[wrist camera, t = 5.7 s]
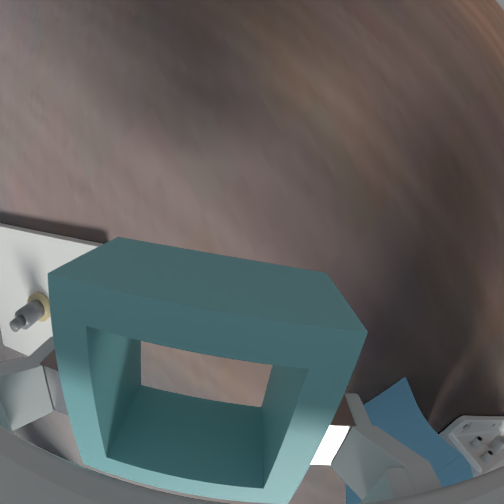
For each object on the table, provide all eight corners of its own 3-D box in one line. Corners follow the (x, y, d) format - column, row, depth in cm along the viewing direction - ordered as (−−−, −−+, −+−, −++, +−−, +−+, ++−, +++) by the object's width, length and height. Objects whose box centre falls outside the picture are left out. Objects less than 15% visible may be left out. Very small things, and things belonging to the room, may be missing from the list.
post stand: (108, 244, 21) (75, 263, 16) (108, 376, 24) (87, 412, 19) (-2, 222, 20) (-41, 233, 15) (8, 340, 23) (-20, 365, 18)
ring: (326, 272, 10) (368, 331, 6) (280, 426, 11) (287, 503, 7) (118, 236, 9) (47, 273, 6) (119, 396, 11) (83, 463, 7)
